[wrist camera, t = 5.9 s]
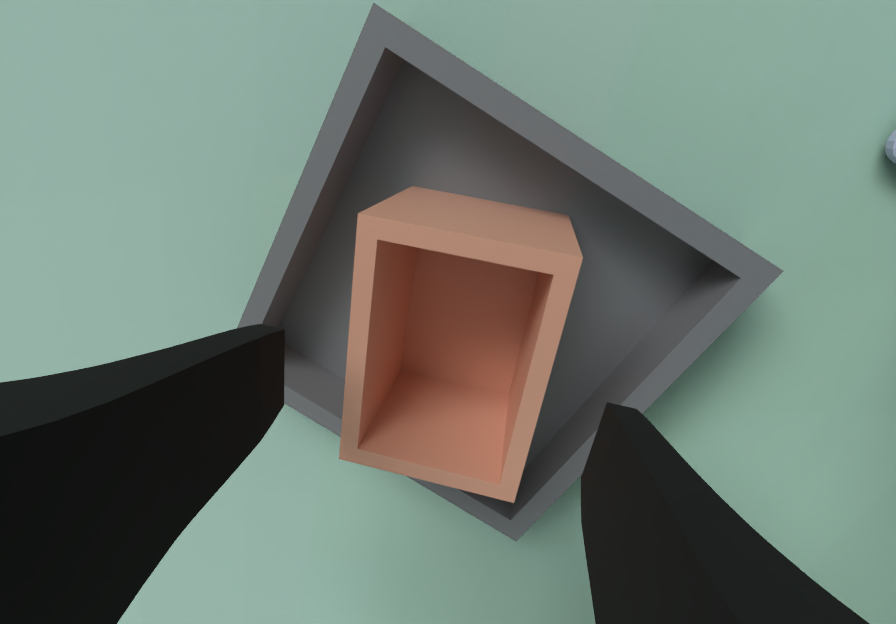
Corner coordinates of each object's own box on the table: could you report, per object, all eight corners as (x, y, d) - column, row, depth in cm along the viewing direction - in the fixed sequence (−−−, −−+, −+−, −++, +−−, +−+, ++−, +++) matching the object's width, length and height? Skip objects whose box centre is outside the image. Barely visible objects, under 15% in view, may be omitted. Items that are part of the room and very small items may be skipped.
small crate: (568, 214, 14) (583, 257, 10) (519, 402, 17) (513, 503, 13) (412, 185, 15) (358, 213, 10) (390, 372, 18) (339, 458, 13)
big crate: (742, 246, 14) (783, 271, 12) (518, 490, 19) (516, 541, 17) (401, 23, 14) (373, 2, 11) (261, 335, 19) (221, 365, 16)
